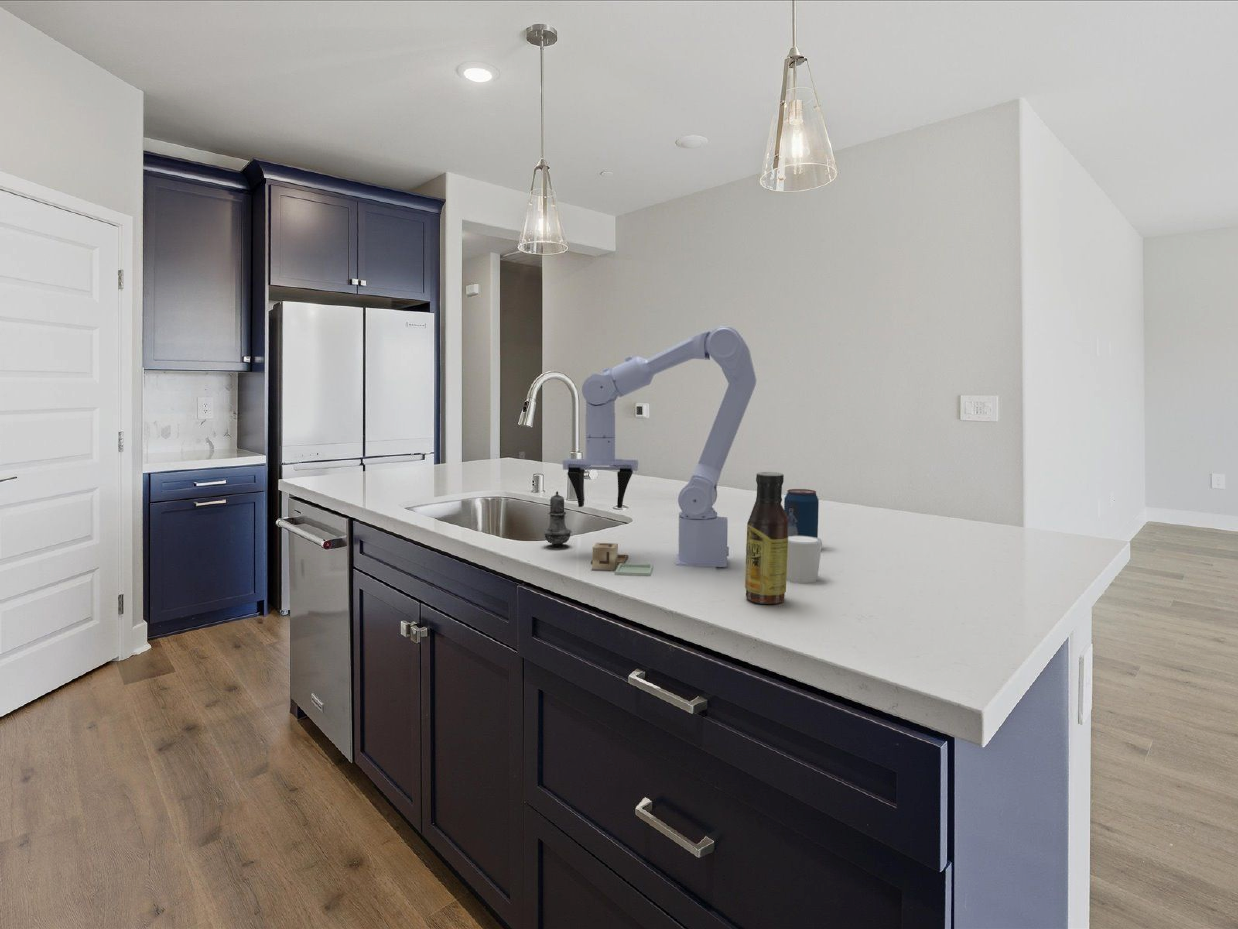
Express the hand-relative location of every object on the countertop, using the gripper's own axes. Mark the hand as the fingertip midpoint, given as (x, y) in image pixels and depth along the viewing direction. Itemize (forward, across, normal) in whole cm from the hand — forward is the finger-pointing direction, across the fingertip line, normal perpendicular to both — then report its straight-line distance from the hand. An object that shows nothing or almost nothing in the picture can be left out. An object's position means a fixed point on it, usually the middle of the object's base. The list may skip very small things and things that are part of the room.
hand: (600, 506), depth 133 cm
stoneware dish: (+10, +8, -11) cm, 17 cm away
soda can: (+10, +40, +14) cm, 44 cm away
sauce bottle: (+10, +30, -25) cm, 40 cm away
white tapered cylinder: (+10, +37, -11) cm, 40 cm away
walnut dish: (+10, +2, -4) cm, 11 cm away
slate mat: (+10, +2, -10) cm, 14 cm away
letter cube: (+10, +2, -10) cm, 14 cm away
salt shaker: (+10, -10, +6) cm, 15 cm away
